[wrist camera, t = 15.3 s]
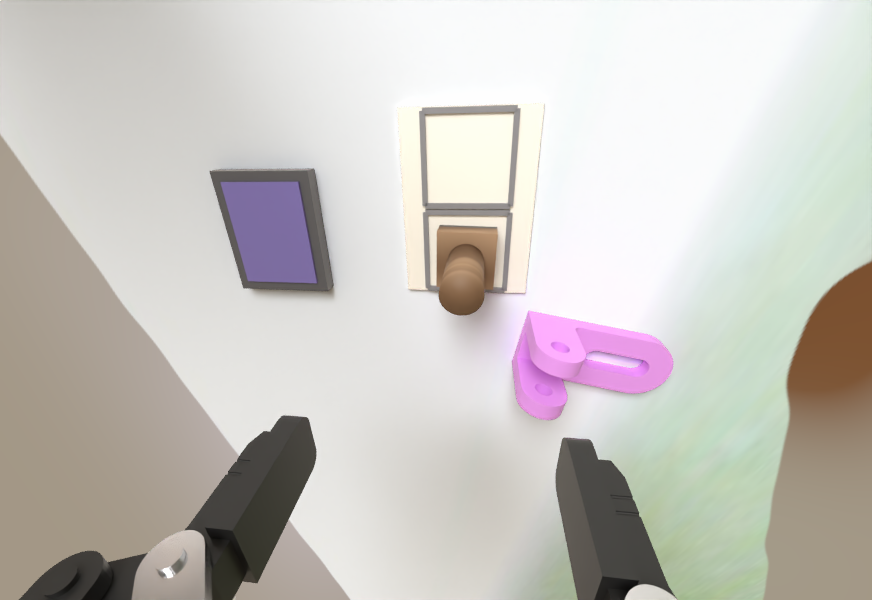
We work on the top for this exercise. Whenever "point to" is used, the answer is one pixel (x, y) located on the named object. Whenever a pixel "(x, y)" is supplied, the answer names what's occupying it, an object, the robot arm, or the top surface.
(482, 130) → the sheet
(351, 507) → the top surface
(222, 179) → the ink pad
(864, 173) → the top surface
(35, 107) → the top surface
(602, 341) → the bracket
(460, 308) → the stamp
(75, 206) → the top surface
